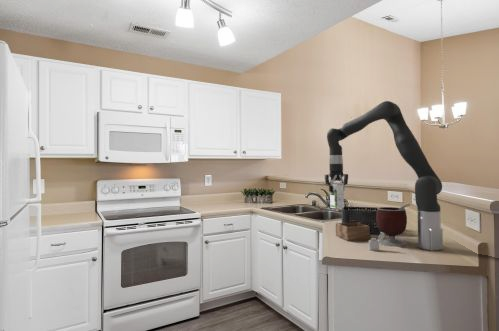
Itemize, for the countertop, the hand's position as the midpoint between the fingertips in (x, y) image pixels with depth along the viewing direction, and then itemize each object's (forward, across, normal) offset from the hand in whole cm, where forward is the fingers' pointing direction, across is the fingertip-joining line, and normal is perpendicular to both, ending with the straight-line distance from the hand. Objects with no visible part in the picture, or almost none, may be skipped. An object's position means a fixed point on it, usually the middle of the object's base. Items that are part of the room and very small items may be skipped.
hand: (336, 192), depth 179 cm
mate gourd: (+24, +15, -29) cm, 40 cm away
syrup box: (+9, 0, 0) cm, 9 cm away
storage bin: (+24, +20, +3) cm, 32 cm away
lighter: (+24, 0, -38) cm, 45 cm away
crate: (+24, +2, -13) cm, 27 cm away
